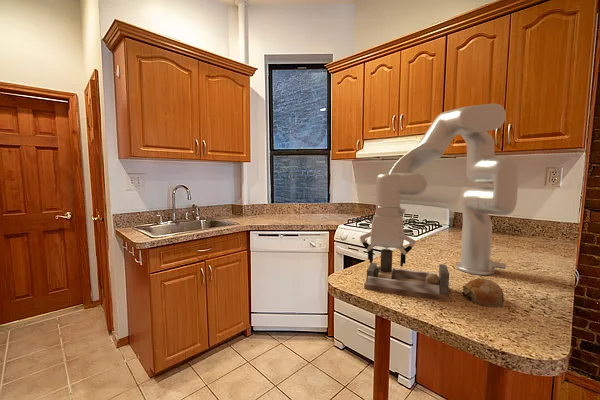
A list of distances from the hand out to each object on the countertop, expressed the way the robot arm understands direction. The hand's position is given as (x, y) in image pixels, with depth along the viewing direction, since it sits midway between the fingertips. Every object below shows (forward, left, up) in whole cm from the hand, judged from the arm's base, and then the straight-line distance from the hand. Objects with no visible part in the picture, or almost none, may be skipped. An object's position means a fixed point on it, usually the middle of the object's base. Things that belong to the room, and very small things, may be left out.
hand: (386, 263), depth 93 cm
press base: (-6, 0, -7) cm, 9 cm away
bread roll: (-27, +1, -7) cm, 28 cm away
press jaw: (0, 0, -5) cm, 5 cm away
